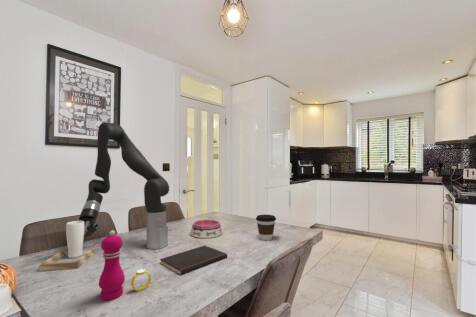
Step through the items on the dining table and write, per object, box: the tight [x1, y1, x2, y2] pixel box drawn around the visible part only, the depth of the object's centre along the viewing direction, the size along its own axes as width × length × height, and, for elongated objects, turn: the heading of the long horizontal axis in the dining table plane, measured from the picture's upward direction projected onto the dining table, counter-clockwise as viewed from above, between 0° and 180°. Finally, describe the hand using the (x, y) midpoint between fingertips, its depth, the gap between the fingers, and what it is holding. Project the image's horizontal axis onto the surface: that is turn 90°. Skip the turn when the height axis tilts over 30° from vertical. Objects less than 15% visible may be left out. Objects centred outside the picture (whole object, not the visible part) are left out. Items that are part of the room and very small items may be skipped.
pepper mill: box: [98, 229, 126, 301], centre depth 76 cm, size 7×7×20 cm
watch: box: [130, 268, 152, 292], centre depth 80 cm, size 6×3×6 cm, turn 130°
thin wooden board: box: [38, 247, 96, 272], centre depth 103 cm, size 17×13×2 cm
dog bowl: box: [189, 219, 223, 240], centre depth 142 cm, size 18×19×7 cm
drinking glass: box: [65, 220, 85, 259], centre depth 109 cm, size 7×7×15 cm
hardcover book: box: [159, 245, 228, 276], centre depth 103 cm, size 16×23×2 cm
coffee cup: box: [255, 214, 277, 242], centre depth 131 cm, size 11×11×12 cm
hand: (78, 243), depth 112 cm, fingers closed
